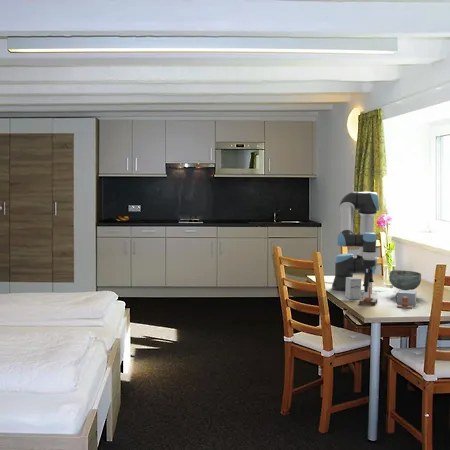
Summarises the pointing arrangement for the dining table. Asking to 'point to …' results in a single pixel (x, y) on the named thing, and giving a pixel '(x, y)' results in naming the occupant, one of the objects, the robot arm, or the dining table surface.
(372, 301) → the board
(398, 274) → the bowl
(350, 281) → the supplement box
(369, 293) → the peg
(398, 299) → the cover
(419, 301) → the dining table surface
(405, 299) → the board
